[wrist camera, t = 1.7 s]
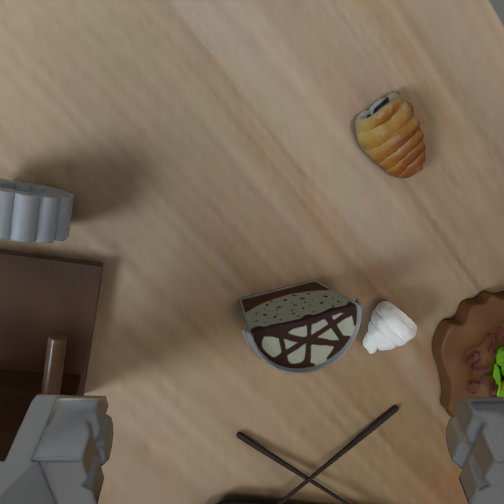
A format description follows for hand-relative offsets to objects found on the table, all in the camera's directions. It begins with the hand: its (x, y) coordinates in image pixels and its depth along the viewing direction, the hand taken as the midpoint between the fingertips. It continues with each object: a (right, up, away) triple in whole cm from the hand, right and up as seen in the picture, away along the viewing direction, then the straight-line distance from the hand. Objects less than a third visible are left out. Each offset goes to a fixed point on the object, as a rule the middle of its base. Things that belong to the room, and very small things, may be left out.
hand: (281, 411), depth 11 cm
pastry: (+14, +17, +43) cm, 48 cm away
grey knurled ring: (-22, +8, +36) cm, 43 cm away
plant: (+33, -10, +54) cm, 64 cm away
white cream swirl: (+14, -5, +48) cm, 51 cm away
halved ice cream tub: (+3, -3, +45) cm, 45 cm away
